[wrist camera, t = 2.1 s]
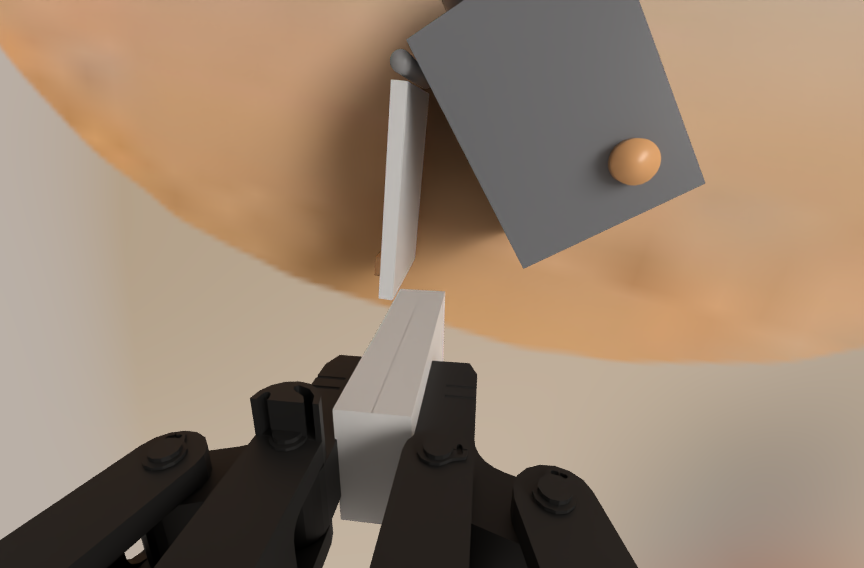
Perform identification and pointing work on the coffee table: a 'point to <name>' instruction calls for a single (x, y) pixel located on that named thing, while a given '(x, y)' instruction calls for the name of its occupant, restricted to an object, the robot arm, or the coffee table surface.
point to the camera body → (558, 114)
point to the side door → (402, 173)
